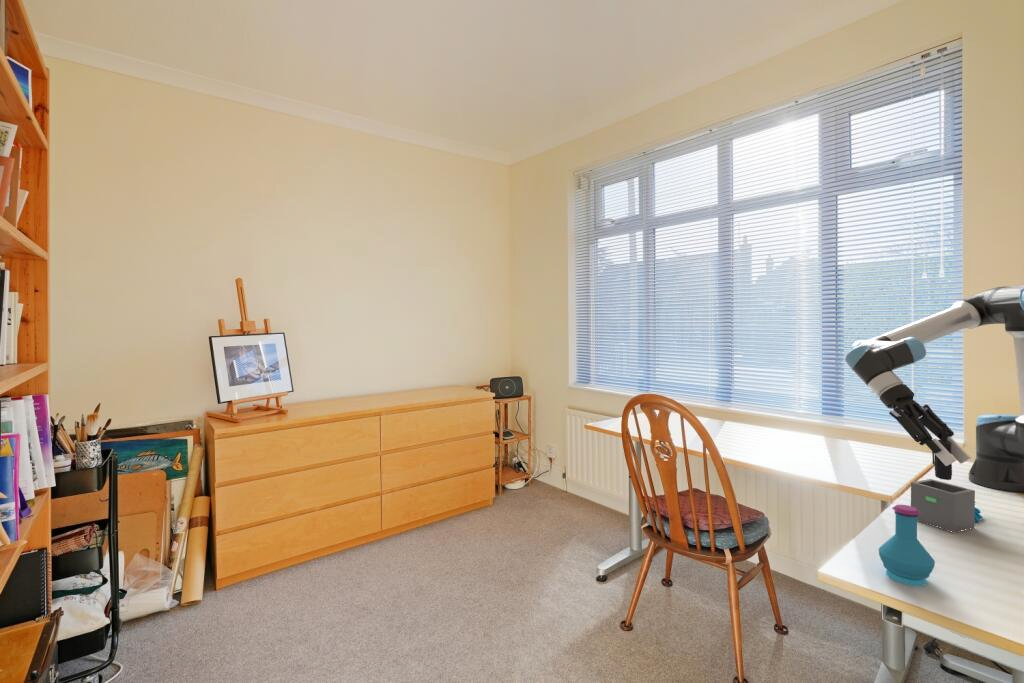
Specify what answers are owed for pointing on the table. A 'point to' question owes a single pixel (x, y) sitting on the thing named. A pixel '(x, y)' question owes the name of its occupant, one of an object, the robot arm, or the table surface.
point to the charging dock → (944, 504)
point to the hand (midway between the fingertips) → (958, 461)
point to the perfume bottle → (906, 550)
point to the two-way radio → (940, 468)
